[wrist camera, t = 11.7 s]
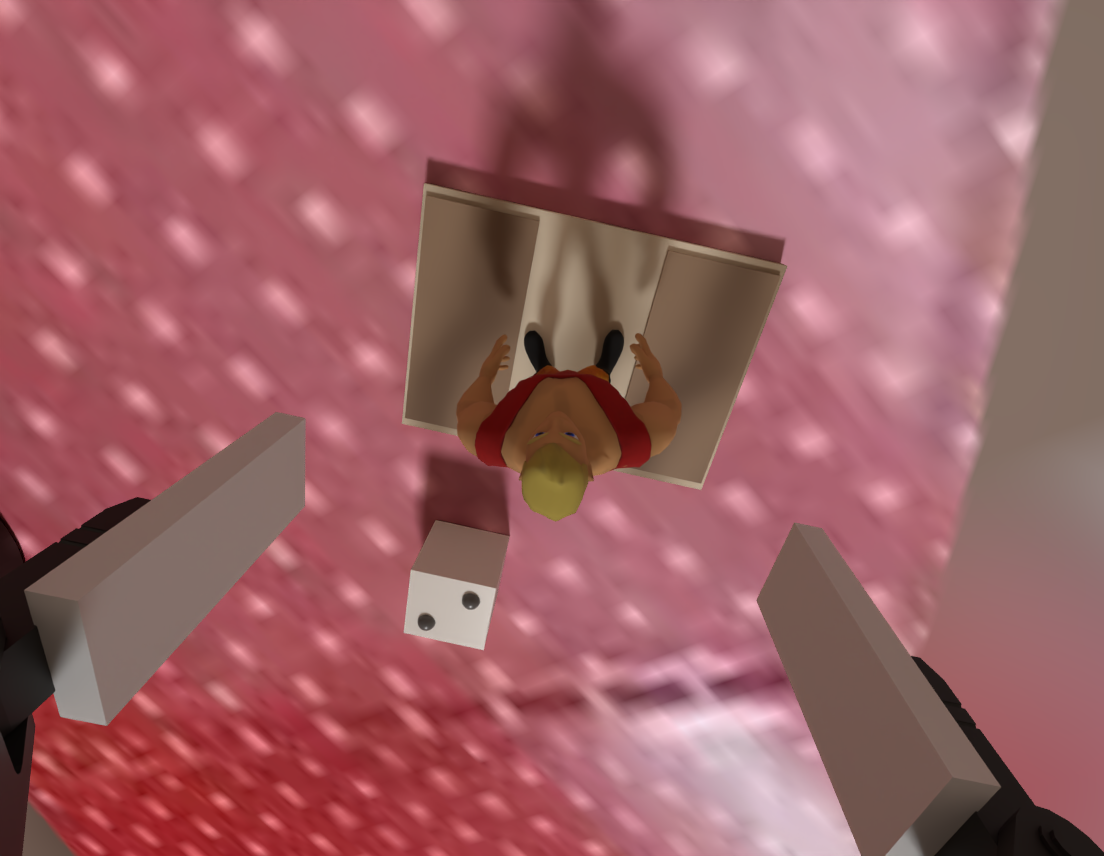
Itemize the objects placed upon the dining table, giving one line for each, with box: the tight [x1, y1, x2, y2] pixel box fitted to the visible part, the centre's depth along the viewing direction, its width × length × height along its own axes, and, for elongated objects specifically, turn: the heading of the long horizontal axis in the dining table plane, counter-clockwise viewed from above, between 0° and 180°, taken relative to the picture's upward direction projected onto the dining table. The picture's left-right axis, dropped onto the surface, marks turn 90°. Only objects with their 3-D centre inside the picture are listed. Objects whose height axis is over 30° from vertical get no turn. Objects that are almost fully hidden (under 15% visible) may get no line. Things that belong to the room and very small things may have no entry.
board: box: [402, 183, 787, 490], centre depth 28 cm, size 18×13×1 cm
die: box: [404, 520, 510, 650], centre depth 33 cm, size 5×5×6 cm
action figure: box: [456, 330, 682, 521], centre depth 21 cm, size 10×4×15 cm, turn 92°
